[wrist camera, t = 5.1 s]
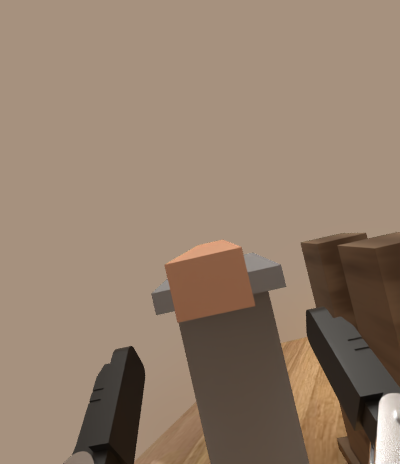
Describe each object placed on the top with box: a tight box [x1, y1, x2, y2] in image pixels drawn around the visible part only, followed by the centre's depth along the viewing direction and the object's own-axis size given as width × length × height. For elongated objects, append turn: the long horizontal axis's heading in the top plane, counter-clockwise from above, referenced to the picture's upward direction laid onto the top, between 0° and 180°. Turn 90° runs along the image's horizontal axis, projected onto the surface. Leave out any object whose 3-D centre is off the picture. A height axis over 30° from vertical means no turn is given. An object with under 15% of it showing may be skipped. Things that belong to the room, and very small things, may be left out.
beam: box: [165, 240, 255, 323], centre depth 25 cm, size 26×4×3 cm, turn 177°
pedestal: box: [152, 253, 309, 464], centre depth 30 cm, size 12×16×32 cm
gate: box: [301, 232, 400, 464], centre depth 28 cm, size 8×21×32 cm, turn 177°
